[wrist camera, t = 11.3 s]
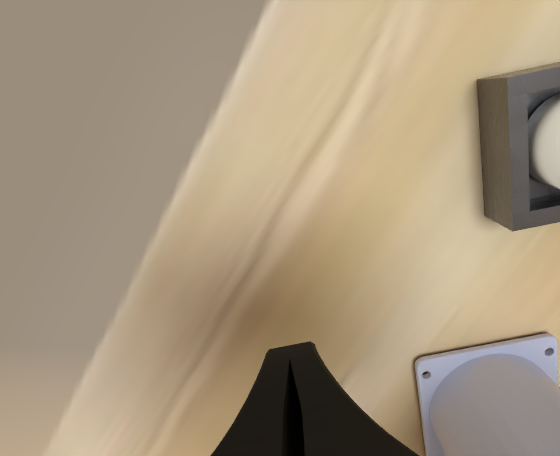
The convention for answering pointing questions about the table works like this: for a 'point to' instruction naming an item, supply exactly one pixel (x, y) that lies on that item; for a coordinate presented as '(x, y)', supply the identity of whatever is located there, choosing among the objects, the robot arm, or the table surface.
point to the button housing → (515, 147)
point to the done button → (545, 142)
